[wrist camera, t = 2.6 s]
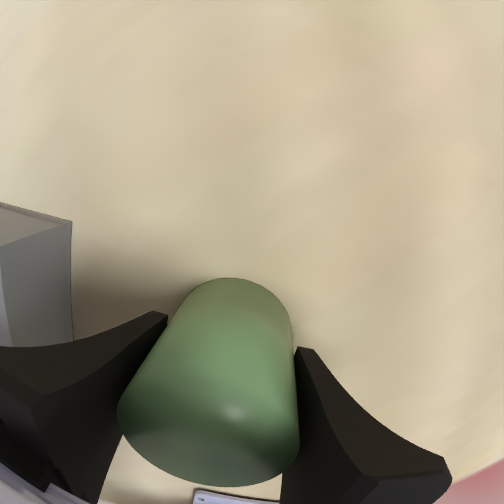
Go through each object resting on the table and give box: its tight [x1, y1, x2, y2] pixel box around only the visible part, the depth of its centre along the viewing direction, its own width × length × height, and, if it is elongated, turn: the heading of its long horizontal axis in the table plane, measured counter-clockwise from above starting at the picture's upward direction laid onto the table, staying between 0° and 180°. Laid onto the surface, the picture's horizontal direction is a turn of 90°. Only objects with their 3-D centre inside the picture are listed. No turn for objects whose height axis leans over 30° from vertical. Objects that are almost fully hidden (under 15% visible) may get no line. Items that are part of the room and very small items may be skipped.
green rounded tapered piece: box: [117, 278, 300, 487], centre depth 9 cm, size 5×5×6 cm
